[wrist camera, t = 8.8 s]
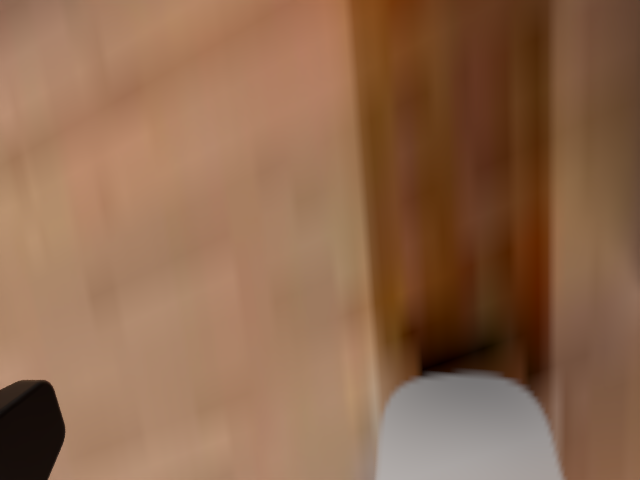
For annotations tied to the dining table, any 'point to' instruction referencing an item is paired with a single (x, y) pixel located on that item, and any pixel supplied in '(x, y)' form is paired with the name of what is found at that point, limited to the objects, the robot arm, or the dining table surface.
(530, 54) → the dining table surface
